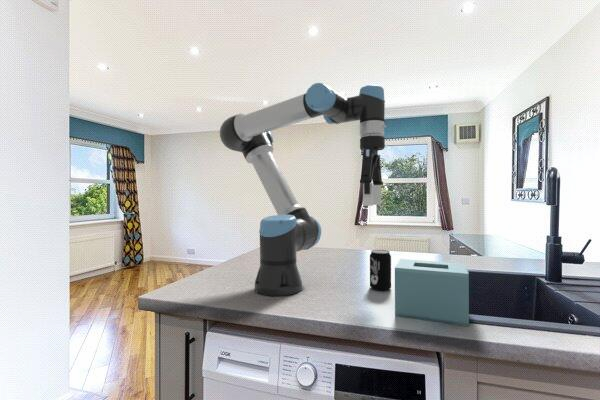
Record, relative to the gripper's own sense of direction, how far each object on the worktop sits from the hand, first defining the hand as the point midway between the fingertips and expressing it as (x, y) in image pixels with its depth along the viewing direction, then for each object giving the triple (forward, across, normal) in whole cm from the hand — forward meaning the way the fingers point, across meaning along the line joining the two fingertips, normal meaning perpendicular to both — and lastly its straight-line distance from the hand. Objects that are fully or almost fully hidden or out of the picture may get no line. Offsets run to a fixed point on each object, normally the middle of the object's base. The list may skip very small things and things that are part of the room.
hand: (372, 205), depth 97 cm
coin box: (+27, -12, -17) cm, 34 cm away
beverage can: (+27, +3, -2) cm, 27 cm away
